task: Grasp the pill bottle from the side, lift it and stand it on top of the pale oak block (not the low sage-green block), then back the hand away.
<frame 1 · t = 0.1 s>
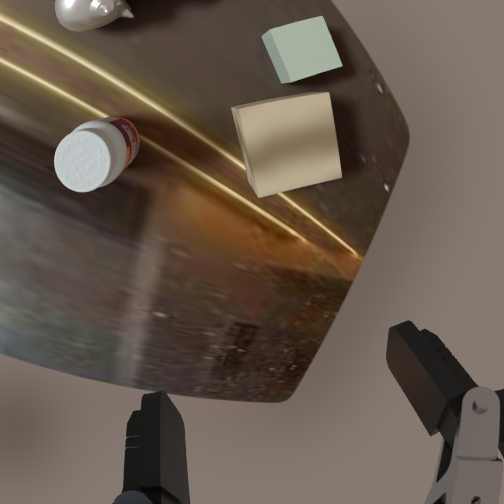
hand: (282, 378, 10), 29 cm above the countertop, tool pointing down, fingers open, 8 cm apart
sage block: (295, 52, 31), on the countertop
oak block: (278, 136, 35), on the countertop
pill bottle: (114, 142, 32), on the countertop
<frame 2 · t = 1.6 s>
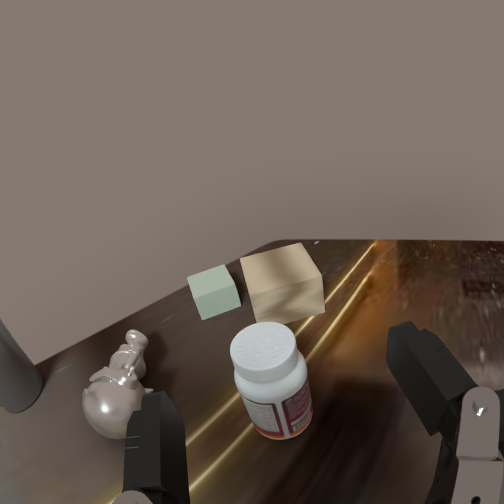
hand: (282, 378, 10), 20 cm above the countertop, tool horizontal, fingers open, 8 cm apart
sage block: (216, 301, 49), on the countertop
oak block: (284, 301, 46), on the countertop
pill bottle: (282, 417, 30), on the countertop
figurine: (137, 399, 35), on the countertop
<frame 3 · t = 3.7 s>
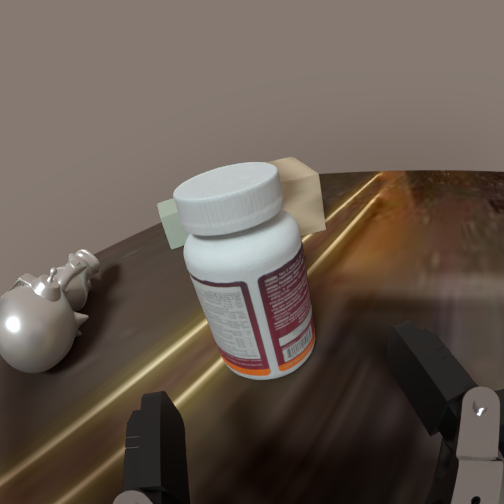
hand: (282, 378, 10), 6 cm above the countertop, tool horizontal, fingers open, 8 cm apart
sage block: (191, 231, 40), on the countertop
oak block: (274, 224, 37), on the countertop
pill bottle: (269, 349, 21), on the countertop
figurine: (72, 333, 26), on the countertop
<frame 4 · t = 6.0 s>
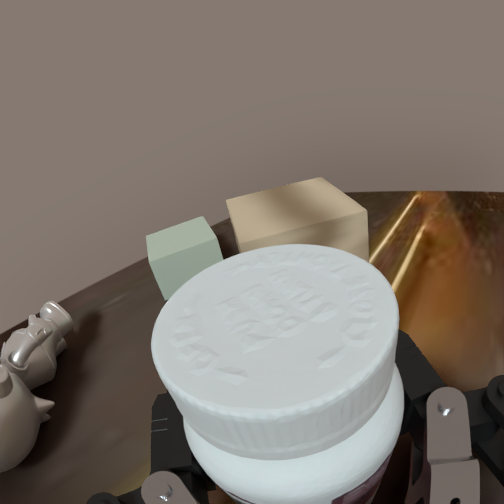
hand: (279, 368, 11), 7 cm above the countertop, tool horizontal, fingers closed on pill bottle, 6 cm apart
sage block: (190, 273, 31), on the countertop
oak block: (298, 268, 28), on the countertop
pill bottle: (310, 485, 12), on the countertop, touching gripper
figurine: (41, 411, 18), on the countertop
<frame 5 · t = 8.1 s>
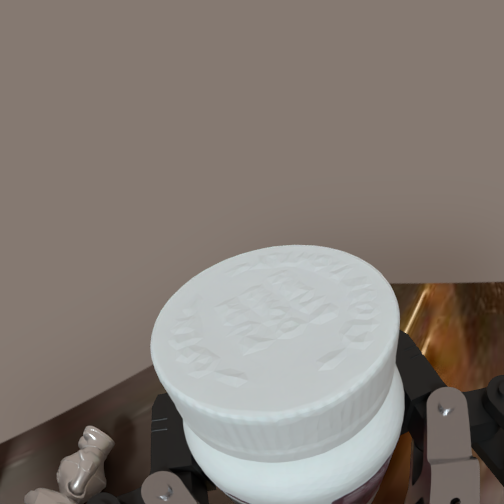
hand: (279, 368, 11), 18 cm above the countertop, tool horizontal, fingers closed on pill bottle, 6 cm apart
pill bottle: (310, 486, 12), point 11 cm above the countertop, touching gripper
when the fingers open (14 cm above the countertop, at t = 10.1 s): pill bottle drops 1 cm, resting on oak block.
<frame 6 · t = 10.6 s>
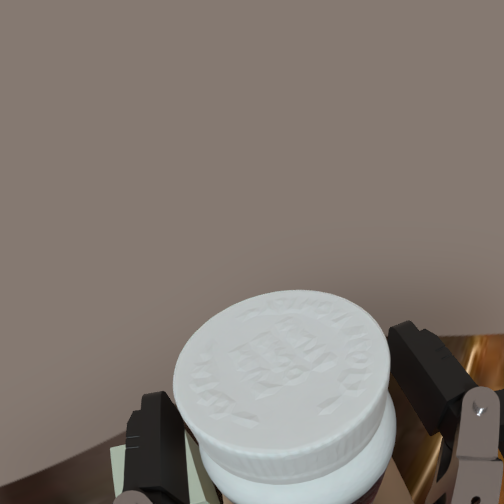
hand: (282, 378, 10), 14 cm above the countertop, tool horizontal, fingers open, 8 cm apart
sage block: (175, 492, 19), on the countertop
pill bottle: (312, 495, 13), point 6 cm above the countertop, touching oak block
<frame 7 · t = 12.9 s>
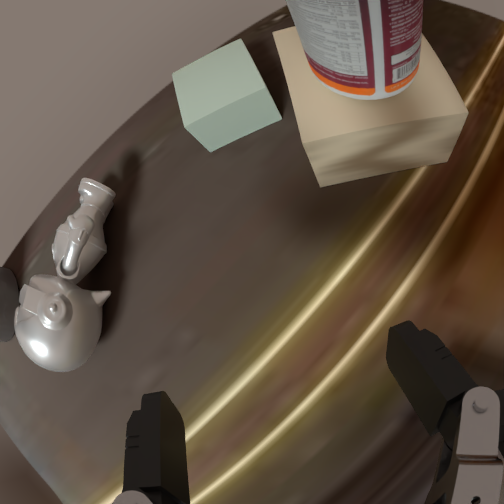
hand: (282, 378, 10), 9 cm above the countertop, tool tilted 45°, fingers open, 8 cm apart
sage block: (235, 107, 24), on the countertop
oak block: (367, 117, 20), on the countertop
pill bottle: (364, 64, 15), point 6 cm above the countertop, touching oak block
figurine: (101, 282, 26), on the countertop
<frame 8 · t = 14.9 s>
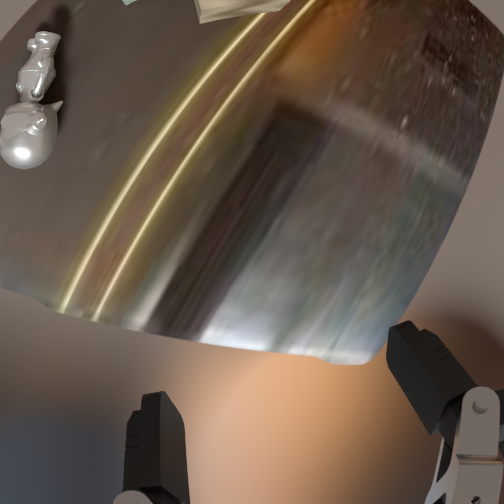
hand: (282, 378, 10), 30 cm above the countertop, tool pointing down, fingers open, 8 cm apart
figurine: (46, 98, 29), on the countertop
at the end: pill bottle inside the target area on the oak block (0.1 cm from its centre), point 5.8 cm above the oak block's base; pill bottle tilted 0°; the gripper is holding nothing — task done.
